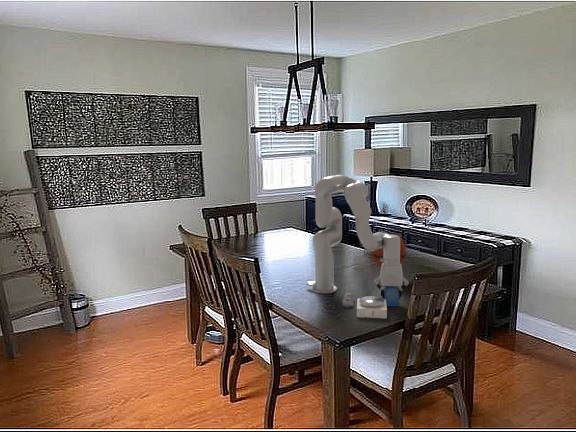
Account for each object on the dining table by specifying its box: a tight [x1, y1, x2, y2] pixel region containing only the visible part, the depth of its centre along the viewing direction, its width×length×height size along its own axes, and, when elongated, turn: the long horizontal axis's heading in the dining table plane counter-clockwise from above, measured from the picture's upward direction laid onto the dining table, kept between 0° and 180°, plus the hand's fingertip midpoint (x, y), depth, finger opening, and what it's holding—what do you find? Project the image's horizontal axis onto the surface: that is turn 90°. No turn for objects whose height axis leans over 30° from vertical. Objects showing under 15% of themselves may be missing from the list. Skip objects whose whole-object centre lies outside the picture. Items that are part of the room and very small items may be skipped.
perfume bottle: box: [383, 286, 400, 307], centre depth 221 cm, size 6×6×12 cm
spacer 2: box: [342, 298, 354, 308], centre depth 221 cm, size 5×5×3 cm
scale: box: [356, 297, 388, 319], centre depth 212 cm, size 13×14×4 cm
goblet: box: [369, 232, 407, 269], centre depth 258 cm, size 19×19×25 cm
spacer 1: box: [342, 292, 355, 302], centre depth 228 cm, size 5×5×3 cm
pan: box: [359, 295, 384, 307], centre depth 212 cm, size 11×11×1 cm
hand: (390, 297), depth 221 cm, fingers closed on perfume bottle, 7 cm apart
